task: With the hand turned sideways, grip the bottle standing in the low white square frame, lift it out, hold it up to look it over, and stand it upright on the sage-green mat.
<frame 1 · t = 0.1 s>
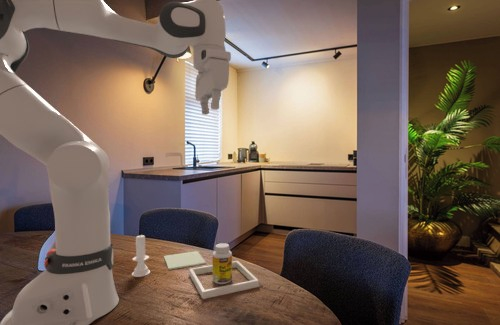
hand: (209, 111, 77), 48 cm above the table, tool pointing down, fingers open, 8 cm apart
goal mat: (184, 260, 95), on the table
supplement bottle: (222, 281, 80), resting in white square frame
white square frame: (222, 280, 80), on the table
candle: (141, 274, 85), on the table
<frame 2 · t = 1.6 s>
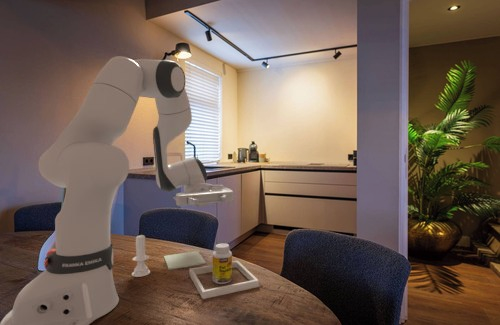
hand: (210, 201, 91), 21 cm above the table, tool horizontal, fingers open, 8 cm apart
nothing on the table moved.
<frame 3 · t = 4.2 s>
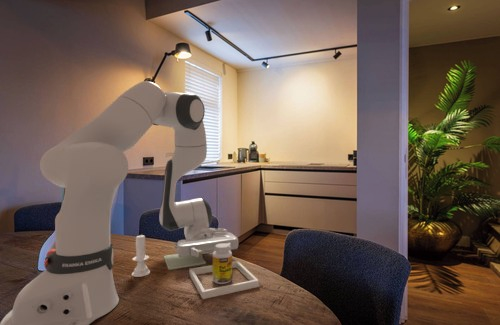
hand: (214, 252, 86), 6 cm above the table, tool horizontal, fingers open, 8 cm apart
nothing on the table moved.
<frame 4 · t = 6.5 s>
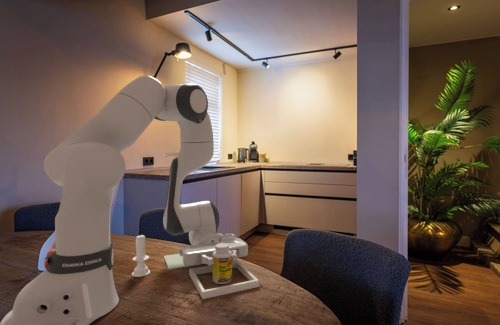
hand: (223, 260, 79), 6 cm above the table, tool horizontal, fingers closed on supplement bottle, 6 cm apart
supplement bottle: (222, 281, 80), resting in white square frame, touching gripper
everything else where it was.
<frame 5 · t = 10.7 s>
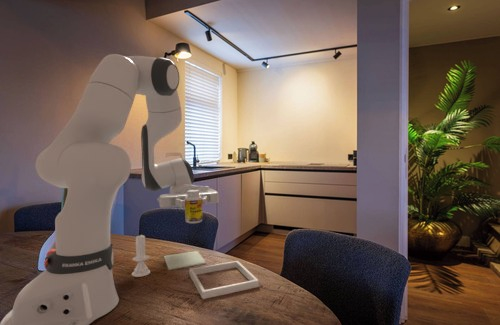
hand: (194, 202, 90), 21 cm above the table, tool horizontal, fingers closed on supplement bottle, 6 cm apart
supplement bottle: (194, 222, 91), point 14 cm above the table, touching gripper
everything else where it was.
when the fingers open (8 cm above the table, at t = 13.7 s): supplement bottle moves 1 cm, resting on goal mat.
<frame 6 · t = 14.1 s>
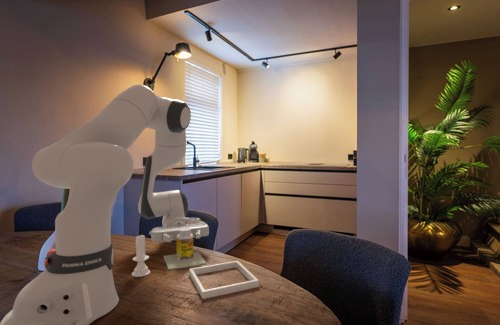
hand: (184, 237, 94), 8 cm above the table, tool horizontal, fingers open, 8 cm apart
supplement bottle: (185, 259, 95), resting on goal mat
everything else where it was.
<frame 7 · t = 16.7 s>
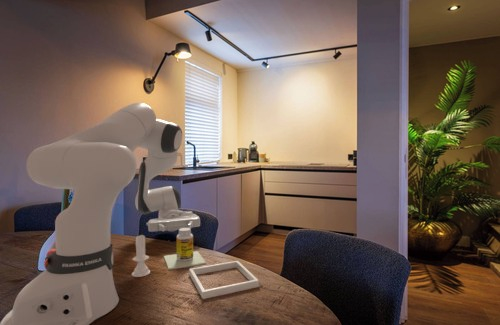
hand: (177, 227, 106), 8 cm above the table, tool horizontal, fingers open, 8 cm apart
nothing on the table moved.
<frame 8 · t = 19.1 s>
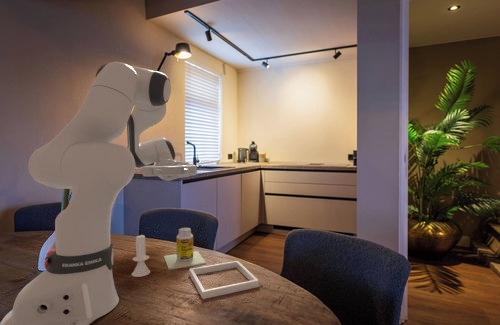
hand: (173, 171, 102), 30 cm above the table, tool horizontal, fingers open, 8 cm apart
nothing on the table moved.
at the end: supplement bottle inside the target area on the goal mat (0.3 cm from its centre), point 0.3 cm above the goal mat's base; supplement bottle tilted 0°; the gripper is holding nothing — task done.
